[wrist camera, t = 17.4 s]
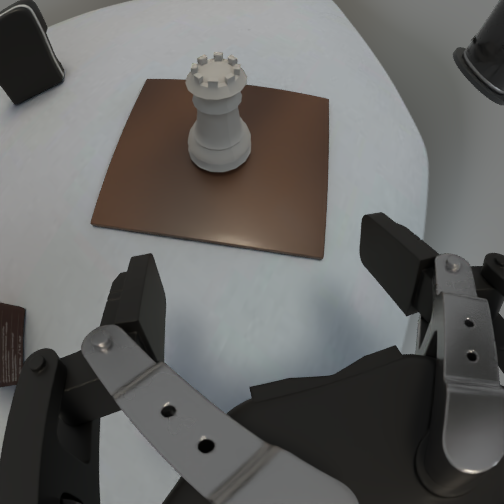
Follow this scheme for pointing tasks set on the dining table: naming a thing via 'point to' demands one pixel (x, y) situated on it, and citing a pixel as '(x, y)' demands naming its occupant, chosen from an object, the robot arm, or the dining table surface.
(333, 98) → the dining table surface
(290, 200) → the serving board
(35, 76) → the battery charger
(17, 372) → the box
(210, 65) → the rook chess piece
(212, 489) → the robot arm
